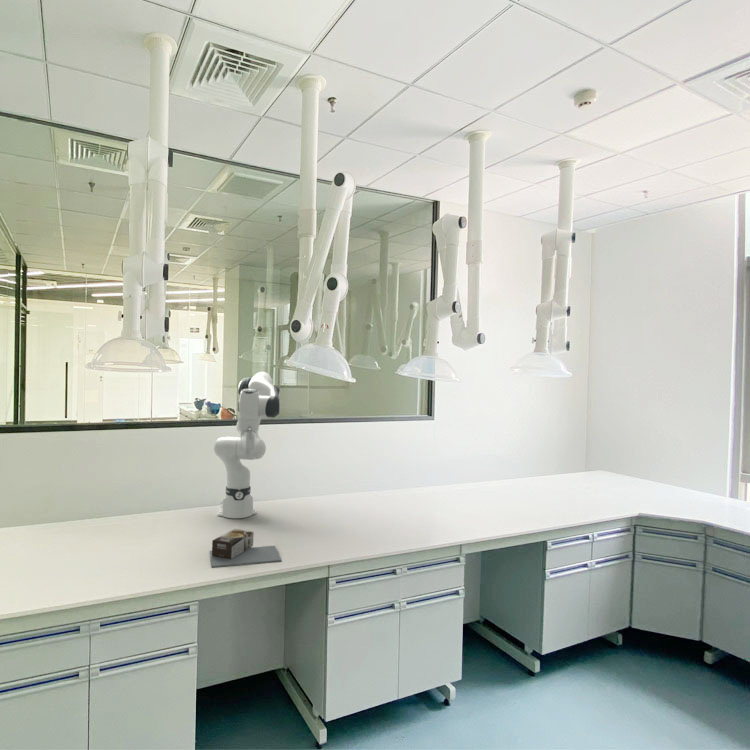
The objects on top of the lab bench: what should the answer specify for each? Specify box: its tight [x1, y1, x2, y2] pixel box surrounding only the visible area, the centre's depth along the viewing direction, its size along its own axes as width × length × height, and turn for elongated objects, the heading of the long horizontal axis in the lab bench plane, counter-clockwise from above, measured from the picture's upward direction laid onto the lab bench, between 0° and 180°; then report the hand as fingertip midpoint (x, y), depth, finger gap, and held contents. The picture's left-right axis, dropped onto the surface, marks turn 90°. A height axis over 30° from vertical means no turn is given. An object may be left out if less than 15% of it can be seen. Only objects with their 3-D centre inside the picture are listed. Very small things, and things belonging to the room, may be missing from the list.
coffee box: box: [211, 528, 255, 559], centre depth 208 cm, size 9×6×16 cm
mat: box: [209, 545, 282, 568], centre depth 204 cm, size 16×26×1 cm, turn 110°
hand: (247, 457), depth 226 cm, fingers closed
